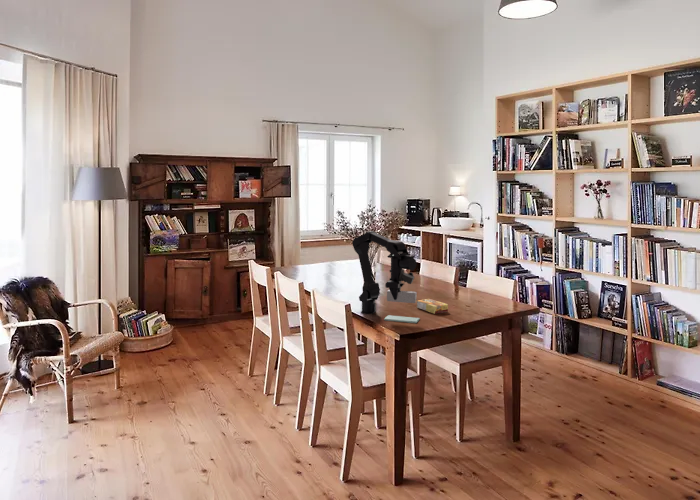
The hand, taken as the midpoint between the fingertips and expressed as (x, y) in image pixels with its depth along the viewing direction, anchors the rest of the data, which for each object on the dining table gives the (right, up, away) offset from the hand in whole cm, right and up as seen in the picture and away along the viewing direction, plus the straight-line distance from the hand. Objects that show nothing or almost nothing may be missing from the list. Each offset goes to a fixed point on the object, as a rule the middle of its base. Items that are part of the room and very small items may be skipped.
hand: (396, 299), depth 264 cm
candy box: (+25, -6, +13) cm, 29 cm away
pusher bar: (+3, -1, -1) cm, 3 cm away
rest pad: (+3, -10, 0) cm, 11 cm away
